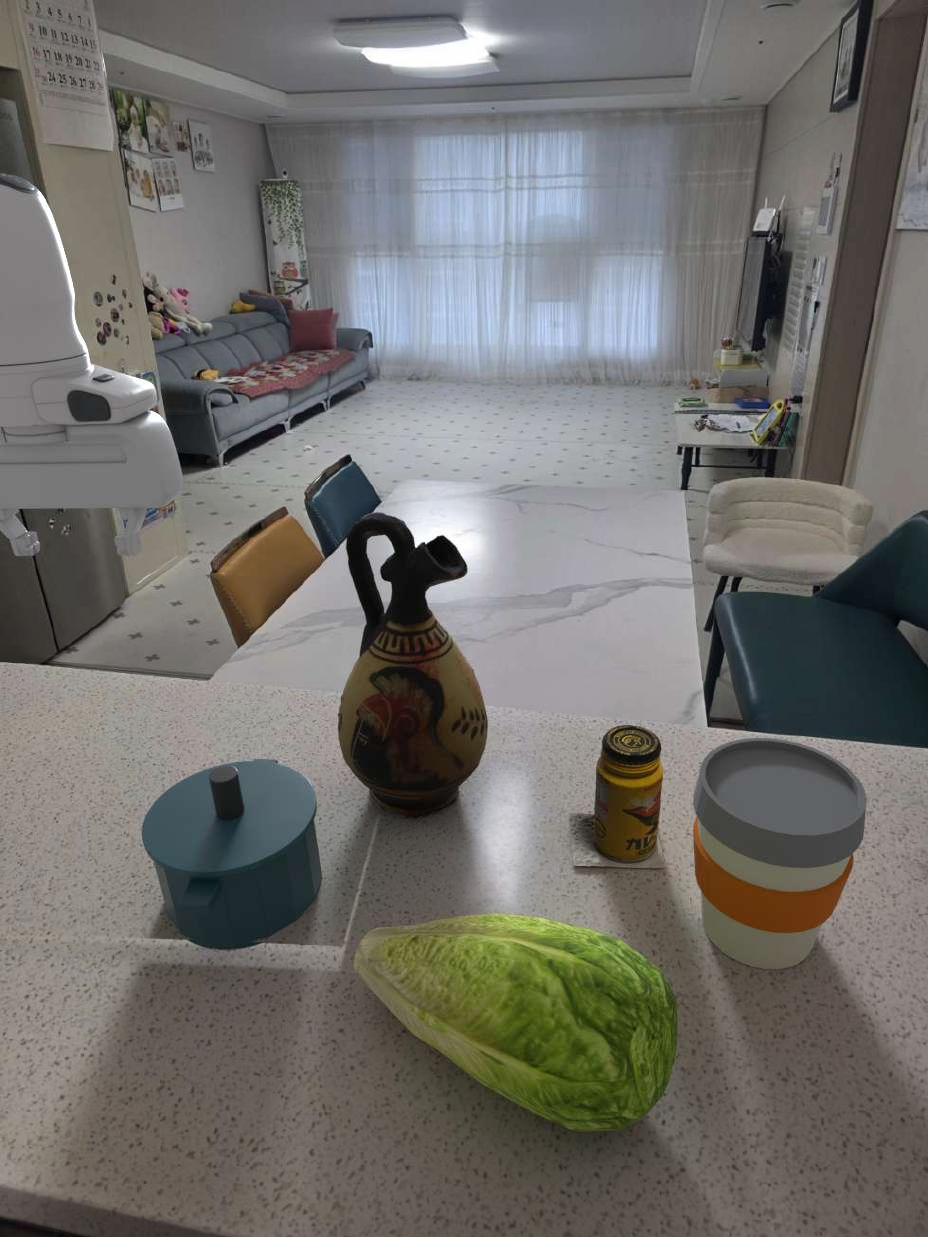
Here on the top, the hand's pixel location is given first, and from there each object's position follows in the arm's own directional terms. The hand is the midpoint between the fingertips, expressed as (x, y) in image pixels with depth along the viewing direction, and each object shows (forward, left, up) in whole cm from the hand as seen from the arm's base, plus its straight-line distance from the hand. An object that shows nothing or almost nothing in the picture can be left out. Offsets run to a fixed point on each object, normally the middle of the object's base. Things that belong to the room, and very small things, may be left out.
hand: (79, 553), depth 73 cm
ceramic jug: (+27, +6, -29) cm, 40 cm away
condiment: (+48, -2, -29) cm, 56 cm away
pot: (+14, -10, -29) cm, 34 cm away
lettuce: (+38, -24, -29) cm, 54 cm away
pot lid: (+14, -10, -21) cm, 27 cm away
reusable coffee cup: (+59, -12, -29) cm, 67 cm away
